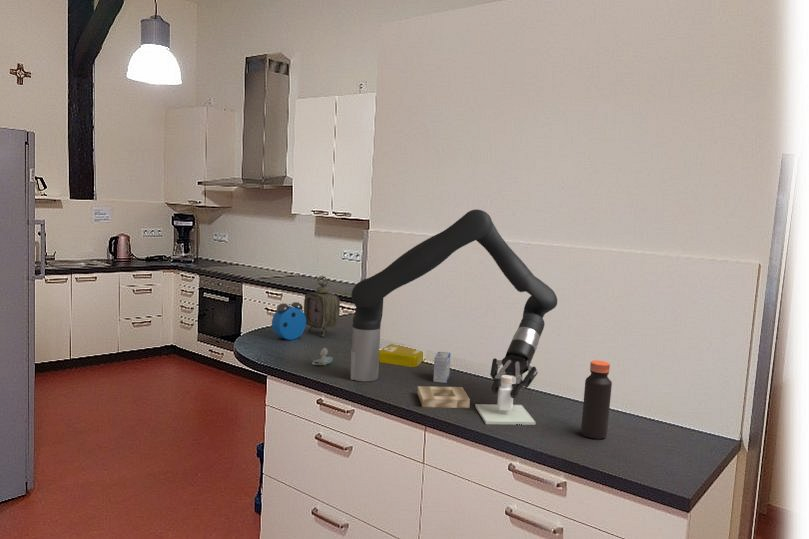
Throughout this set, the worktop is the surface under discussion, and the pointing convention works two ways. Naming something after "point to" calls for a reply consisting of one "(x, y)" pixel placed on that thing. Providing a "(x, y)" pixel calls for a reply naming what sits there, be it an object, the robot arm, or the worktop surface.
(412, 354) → the element tile
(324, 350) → the pacifier
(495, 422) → the sage trivet
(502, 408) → the salt shaker
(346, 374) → the worktop surface
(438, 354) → the medicine box
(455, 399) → the oak holder
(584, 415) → the bottle
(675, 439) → the worktop surface
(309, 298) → the tabletop clock
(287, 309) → the alarm clock
